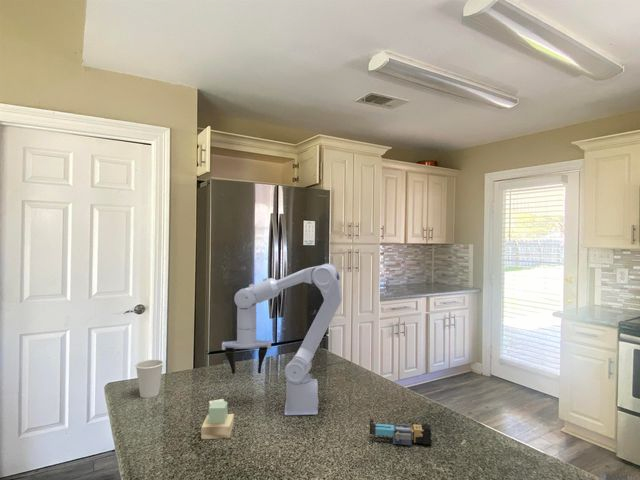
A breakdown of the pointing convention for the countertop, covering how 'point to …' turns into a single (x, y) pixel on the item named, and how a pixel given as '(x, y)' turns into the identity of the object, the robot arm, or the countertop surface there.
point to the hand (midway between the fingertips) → (246, 372)
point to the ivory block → (216, 401)
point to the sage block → (218, 412)
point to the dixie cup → (149, 377)
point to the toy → (403, 432)
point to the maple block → (217, 428)
